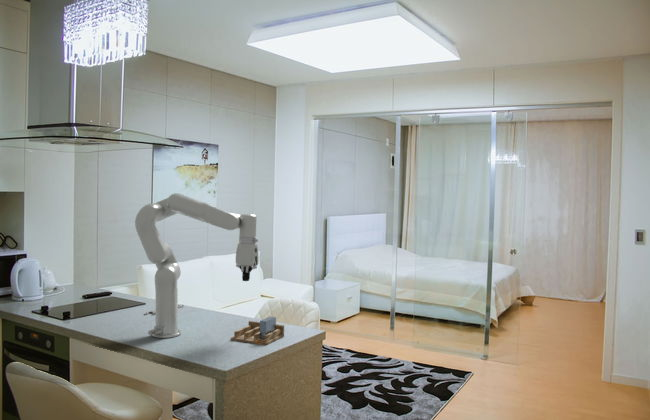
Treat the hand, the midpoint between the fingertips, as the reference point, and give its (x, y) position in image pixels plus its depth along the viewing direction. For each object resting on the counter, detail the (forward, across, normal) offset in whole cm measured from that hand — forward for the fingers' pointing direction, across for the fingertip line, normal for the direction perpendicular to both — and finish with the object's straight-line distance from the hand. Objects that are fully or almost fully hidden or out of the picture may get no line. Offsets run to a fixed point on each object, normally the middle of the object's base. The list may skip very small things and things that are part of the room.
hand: (245, 280), depth 236 cm
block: (+23, -15, +4) cm, 28 cm away
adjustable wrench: (+26, +63, -19) cm, 71 cm away
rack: (+24, -10, +4) cm, 26 cm away
